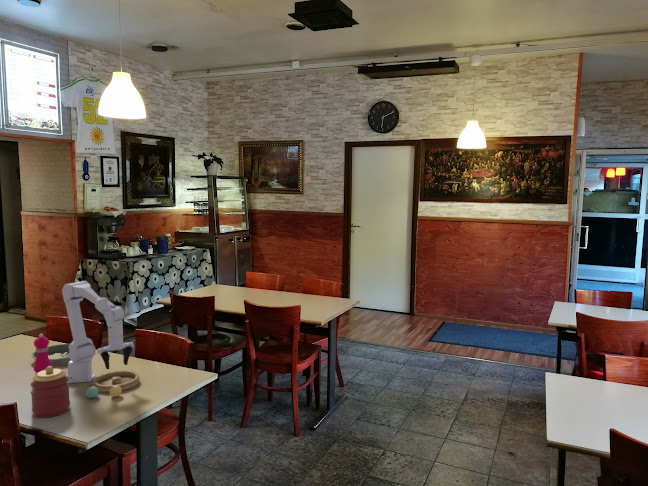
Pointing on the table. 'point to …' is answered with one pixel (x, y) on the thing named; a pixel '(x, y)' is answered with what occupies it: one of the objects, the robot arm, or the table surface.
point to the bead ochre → (115, 391)
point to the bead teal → (92, 392)
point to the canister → (50, 392)
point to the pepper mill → (41, 354)
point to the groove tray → (116, 380)
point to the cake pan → (57, 349)
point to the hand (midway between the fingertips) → (116, 366)
